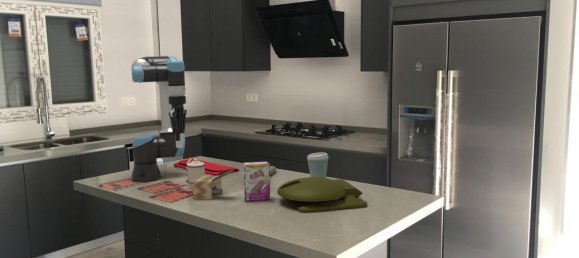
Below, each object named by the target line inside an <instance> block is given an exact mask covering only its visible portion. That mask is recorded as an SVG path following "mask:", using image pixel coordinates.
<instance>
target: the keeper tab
mask: <svg viewBox="0 0 579 258" xmlns="http://www.w3.org/2000/svg"><path fill="white" fill-rule="evenodd" d="M233 171H234V170H230V171H228V172H226V173H224V174H222V175H220V176H217V177H215V178H213V179H212V181H214V180H216V179H219V178H221V179H222V178H223V177H225V176H228V175H230V174H232V173H231V172H233ZM229 173H230V174H229Z"/></svg>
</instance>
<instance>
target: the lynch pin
mask: <svg viewBox="0 0 579 258" xmlns="http://www.w3.org/2000/svg"><path fill="white" fill-rule="evenodd" d="M191 189H192V190H191V192H192V196H193V197H194V185H192V188H191ZM223 194H224V190H223V188H221V189H218V188H212V195H217V196H222V195H223Z"/></svg>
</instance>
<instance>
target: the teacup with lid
mask: <svg viewBox="0 0 579 258" xmlns="http://www.w3.org/2000/svg"><path fill="white" fill-rule="evenodd" d="M193 159H194V161H192V162H191V163H188V164H187V167H186V169H185V173H186V175H187V183H190V184H193V181H195V180H197V179H199V178H201V177H203V176H205V175H206V174H205V167H204V166H205V164H204V163H203V162H200V161H198V160H199V159H197V158H193Z"/></svg>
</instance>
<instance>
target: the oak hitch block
mask: <svg viewBox="0 0 579 258" xmlns="http://www.w3.org/2000/svg"><path fill="white" fill-rule="evenodd" d="M215 177H217V176H214V175H209V174H205V176H203V177H201V178H199V179H197V180H195V181H193V183H192V184H193V186H194V196H193V197H194V198H193V199H194V200H205V201H206V200H208V201H209V200H210V201H211V200H213V199H215V198H216V197H217V196H218V195H212V188H218V189H222V177H221V178H219V179H216V180H214V181H212V179H213V178H215Z"/></svg>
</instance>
